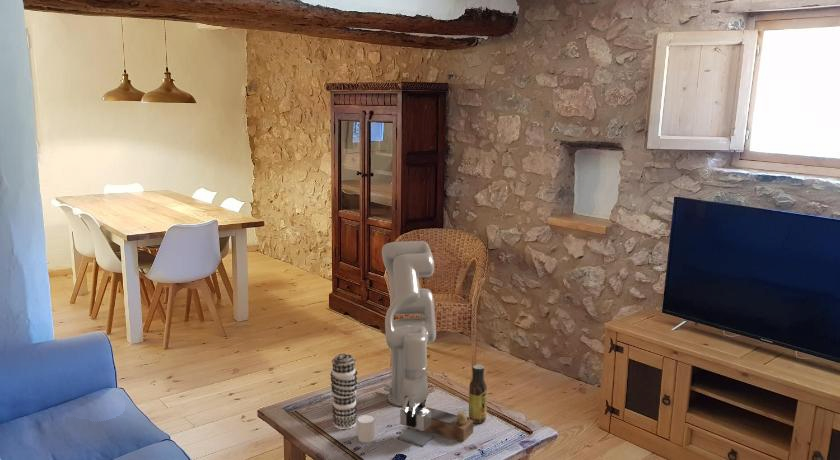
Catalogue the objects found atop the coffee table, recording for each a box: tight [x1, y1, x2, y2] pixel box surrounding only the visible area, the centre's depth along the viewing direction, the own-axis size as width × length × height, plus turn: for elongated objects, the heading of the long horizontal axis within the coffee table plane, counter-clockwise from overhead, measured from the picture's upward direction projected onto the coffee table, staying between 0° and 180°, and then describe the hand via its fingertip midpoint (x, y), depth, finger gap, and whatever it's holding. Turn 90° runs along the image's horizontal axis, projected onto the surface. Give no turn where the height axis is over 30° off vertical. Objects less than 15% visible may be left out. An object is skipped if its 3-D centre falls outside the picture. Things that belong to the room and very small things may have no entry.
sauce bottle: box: [468, 364, 488, 424], centre depth 221 cm, size 7×6×20 cm
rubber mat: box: [396, 427, 435, 448], centre depth 211 cm, size 10×7×1 cm
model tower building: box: [329, 353, 358, 430], centre depth 218 cm, size 9×9×25 cm
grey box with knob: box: [399, 405, 431, 432], centre depth 209 cm, size 9×5×6 cm, turn 59°
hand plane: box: [424, 406, 474, 442], centre depth 215 cm, size 18×7×8 cm, turn 59°
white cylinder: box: [355, 413, 377, 443], centre depth 210 cm, size 7×7×7 cm
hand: (415, 422), depth 209 cm, fingers closed on grey box with knob, 5 cm apart
